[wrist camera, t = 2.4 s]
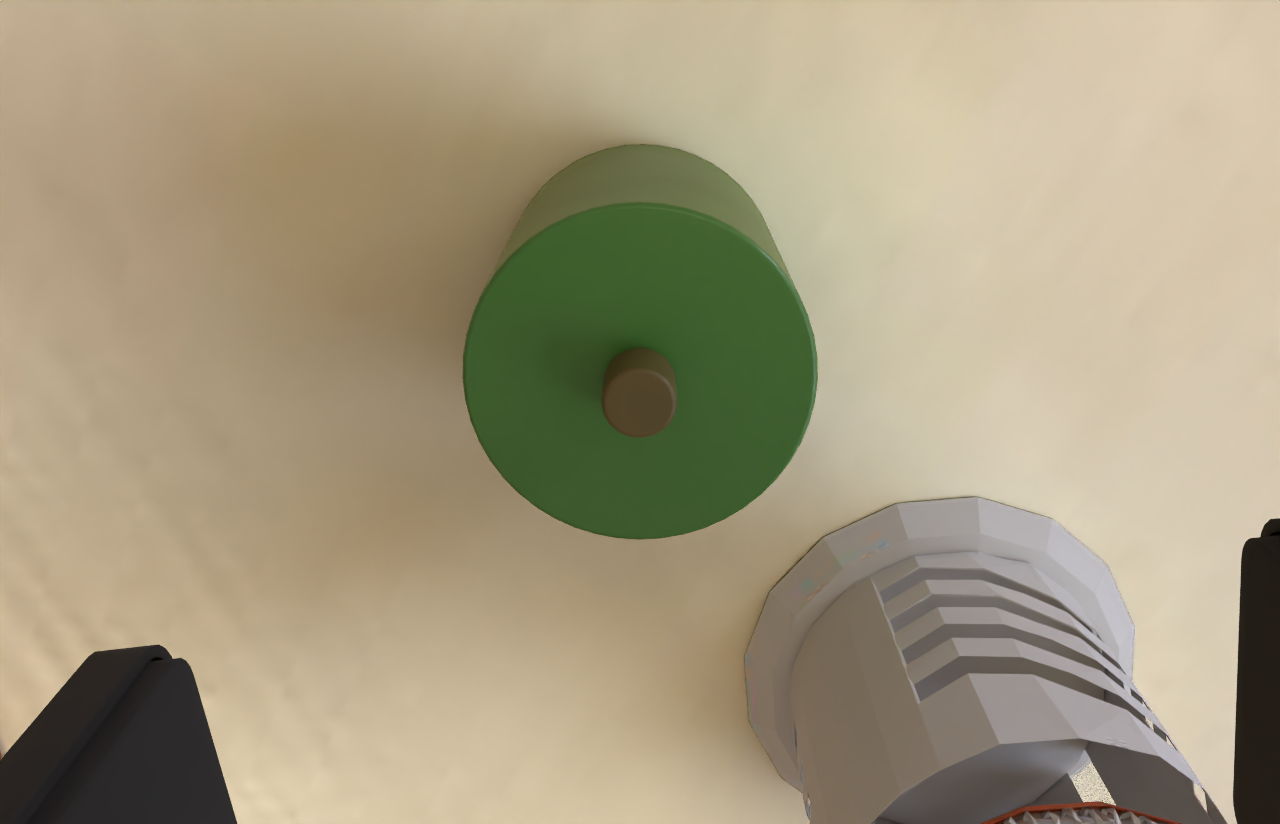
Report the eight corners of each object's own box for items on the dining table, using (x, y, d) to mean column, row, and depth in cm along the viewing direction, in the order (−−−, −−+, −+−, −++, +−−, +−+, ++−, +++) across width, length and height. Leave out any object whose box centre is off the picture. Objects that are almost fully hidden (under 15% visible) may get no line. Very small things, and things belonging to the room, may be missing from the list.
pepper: (530, 421, 28) (485, 591, 20) (486, 162, 26) (418, 243, 18) (787, 391, 28) (841, 552, 20) (763, 127, 26) (812, 193, 18)
